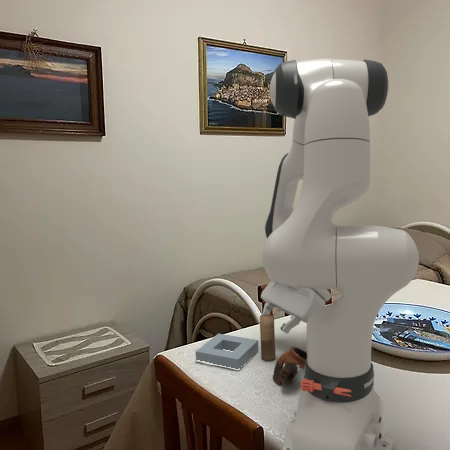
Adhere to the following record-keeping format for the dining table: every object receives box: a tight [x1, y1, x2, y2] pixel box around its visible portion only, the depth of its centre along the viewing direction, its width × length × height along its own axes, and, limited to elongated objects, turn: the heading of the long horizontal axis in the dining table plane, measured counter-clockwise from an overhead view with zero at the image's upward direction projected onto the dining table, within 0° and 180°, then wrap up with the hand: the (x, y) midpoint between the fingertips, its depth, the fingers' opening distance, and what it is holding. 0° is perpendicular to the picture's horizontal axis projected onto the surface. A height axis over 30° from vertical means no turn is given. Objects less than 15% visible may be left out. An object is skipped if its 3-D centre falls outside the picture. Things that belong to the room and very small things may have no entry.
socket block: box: [195, 333, 260, 369], centre depth 117 cm, size 12×12×3 cm
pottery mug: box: [272, 346, 307, 387], centre depth 103 cm, size 12×10×8 cm
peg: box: [259, 314, 277, 362], centre depth 115 cm, size 4×4×11 cm
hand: (272, 325), depth 115 cm, fingers open, 8 cm apart
